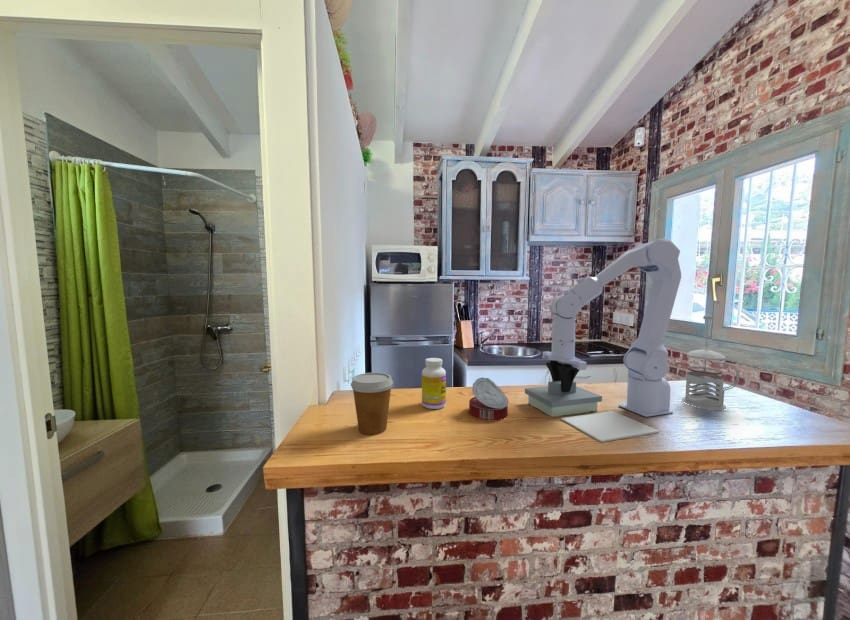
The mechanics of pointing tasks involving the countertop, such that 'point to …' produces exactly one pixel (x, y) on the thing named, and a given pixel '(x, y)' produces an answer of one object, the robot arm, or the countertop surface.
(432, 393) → the supplement bottle
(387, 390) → the disposable coffee cup
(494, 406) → the canned food
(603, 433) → the mat
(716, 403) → the french press
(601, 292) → the robot arm
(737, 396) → the countertop surface
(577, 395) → the lid
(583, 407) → the storage box
